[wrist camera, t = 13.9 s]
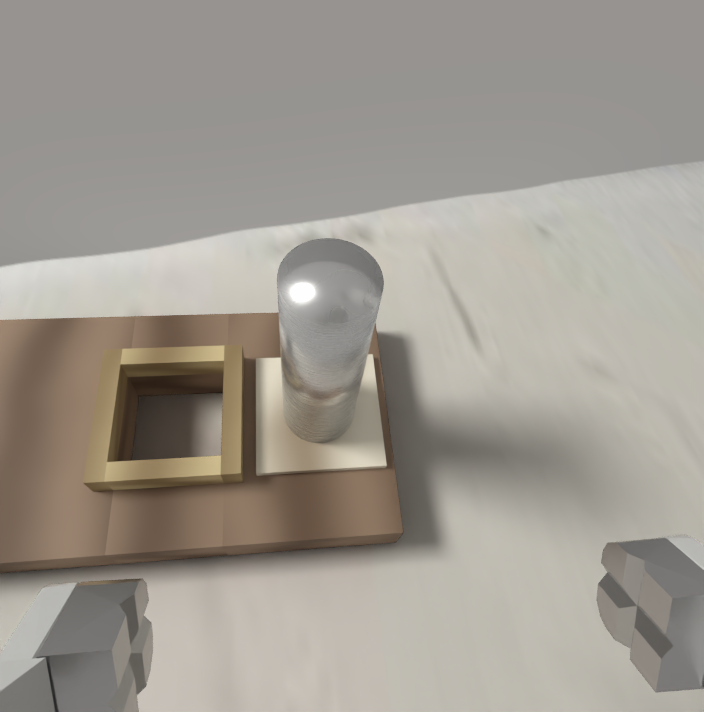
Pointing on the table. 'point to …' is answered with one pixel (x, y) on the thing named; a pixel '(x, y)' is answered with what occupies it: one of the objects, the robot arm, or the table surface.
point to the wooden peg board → (175, 475)
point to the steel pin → (325, 333)
